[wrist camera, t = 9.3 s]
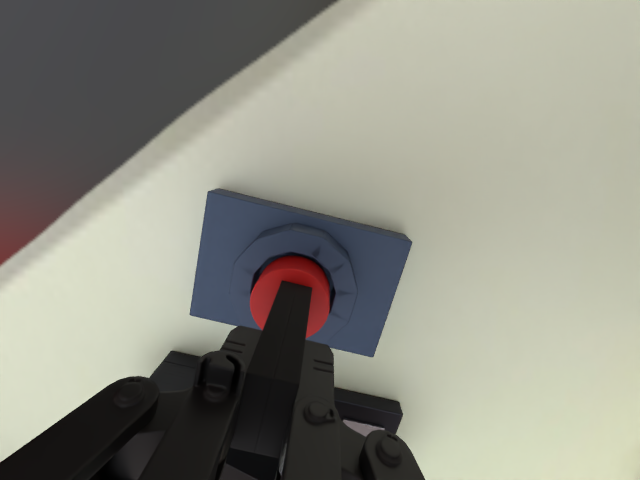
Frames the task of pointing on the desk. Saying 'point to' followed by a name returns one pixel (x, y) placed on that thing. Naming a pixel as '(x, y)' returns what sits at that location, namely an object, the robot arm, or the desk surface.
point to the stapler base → (351, 406)
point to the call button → (298, 273)
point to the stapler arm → (249, 466)
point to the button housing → (306, 241)
